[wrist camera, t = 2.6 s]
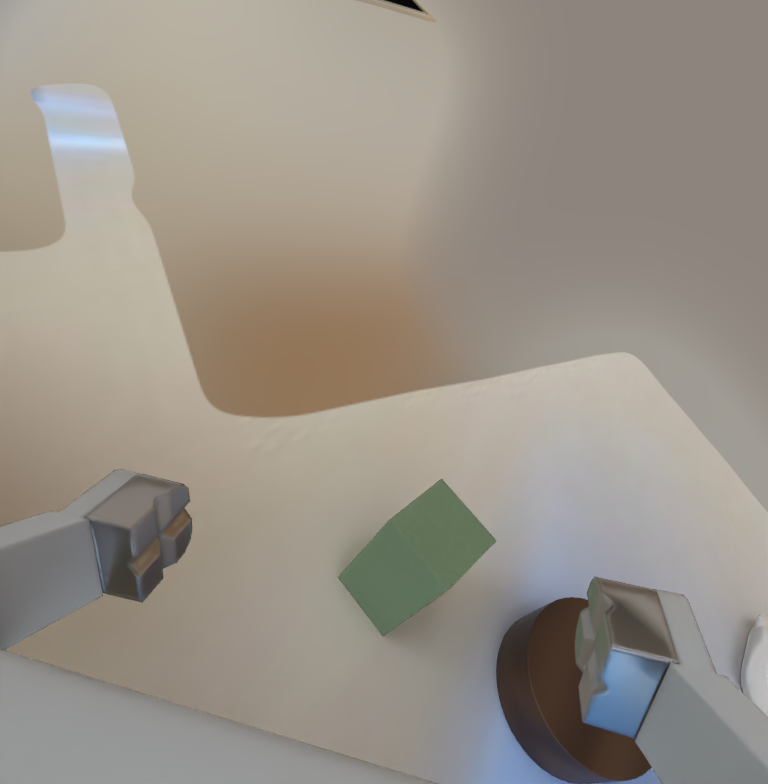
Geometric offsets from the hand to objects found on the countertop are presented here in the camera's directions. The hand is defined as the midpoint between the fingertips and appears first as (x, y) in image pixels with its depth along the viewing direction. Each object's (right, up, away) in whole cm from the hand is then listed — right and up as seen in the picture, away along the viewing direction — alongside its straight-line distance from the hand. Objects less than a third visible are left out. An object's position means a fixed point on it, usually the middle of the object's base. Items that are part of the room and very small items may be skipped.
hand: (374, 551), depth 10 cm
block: (0, -11, +28) cm, 30 cm away
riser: (+13, -19, +28) cm, 37 cm away
